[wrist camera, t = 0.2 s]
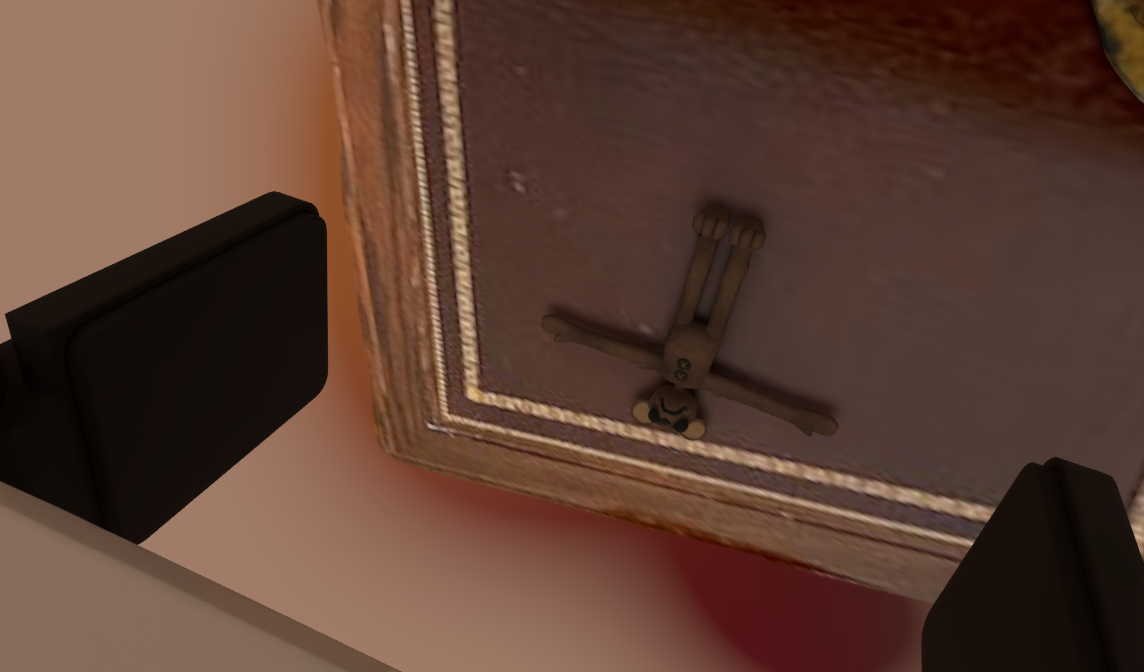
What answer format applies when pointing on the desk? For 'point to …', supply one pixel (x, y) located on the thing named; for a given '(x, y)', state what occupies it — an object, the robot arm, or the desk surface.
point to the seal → (1123, 39)
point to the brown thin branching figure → (697, 340)
